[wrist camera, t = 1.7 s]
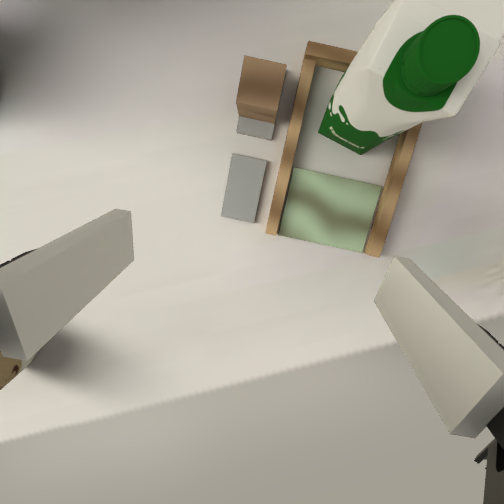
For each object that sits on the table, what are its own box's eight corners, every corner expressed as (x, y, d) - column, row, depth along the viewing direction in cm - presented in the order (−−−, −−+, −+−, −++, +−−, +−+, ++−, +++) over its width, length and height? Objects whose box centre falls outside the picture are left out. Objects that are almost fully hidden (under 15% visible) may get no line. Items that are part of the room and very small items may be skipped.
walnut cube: (246, 76, 34) (244, 55, 29) (282, 84, 34) (286, 64, 29) (239, 116, 35) (236, 101, 30) (274, 123, 35) (277, 110, 30)
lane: (305, 50, 34) (308, 40, 32) (428, 77, 34) (438, 69, 32) (265, 231, 39) (265, 233, 37) (373, 254, 39) (379, 257, 37)
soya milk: (309, 136, 36) (369, 54, 16) (340, 71, 34) (450, -104, 15) (362, 164, 37) (483, 117, 17) (396, 102, 35) (574, -29, 15)
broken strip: (249, 63, 35) (249, 60, 34) (285, 71, 35) (286, 68, 34) (221, 215, 38) (220, 216, 38) (253, 222, 39) (253, 223, 38)
